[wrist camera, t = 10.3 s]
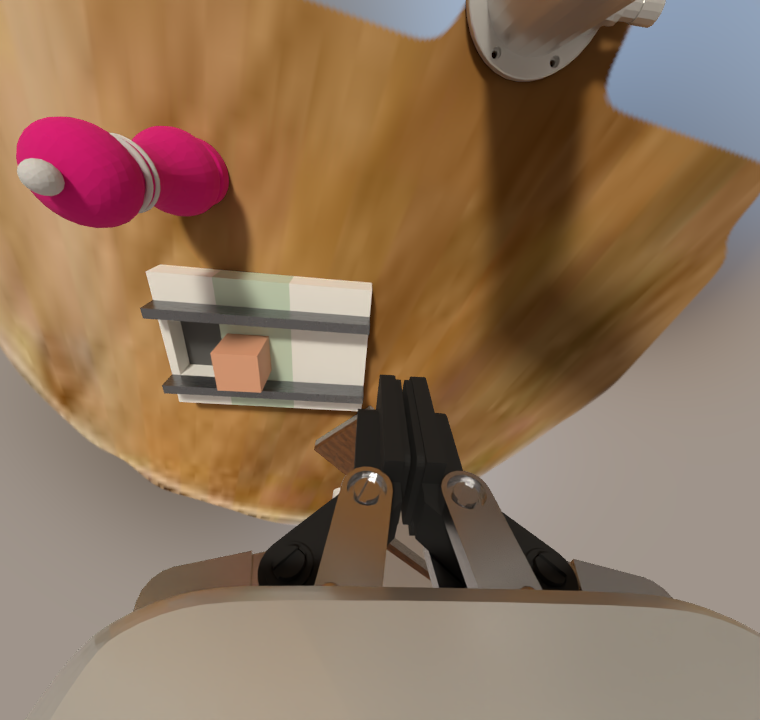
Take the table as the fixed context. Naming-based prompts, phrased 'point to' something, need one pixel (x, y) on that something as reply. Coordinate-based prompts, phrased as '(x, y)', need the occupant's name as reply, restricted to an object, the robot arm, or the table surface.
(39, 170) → the pepper mill
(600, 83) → the table surface
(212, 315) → the channel walls
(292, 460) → the table surface
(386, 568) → the display case
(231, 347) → the terracotta block
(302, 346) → the channel deck
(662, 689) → the robot arm
